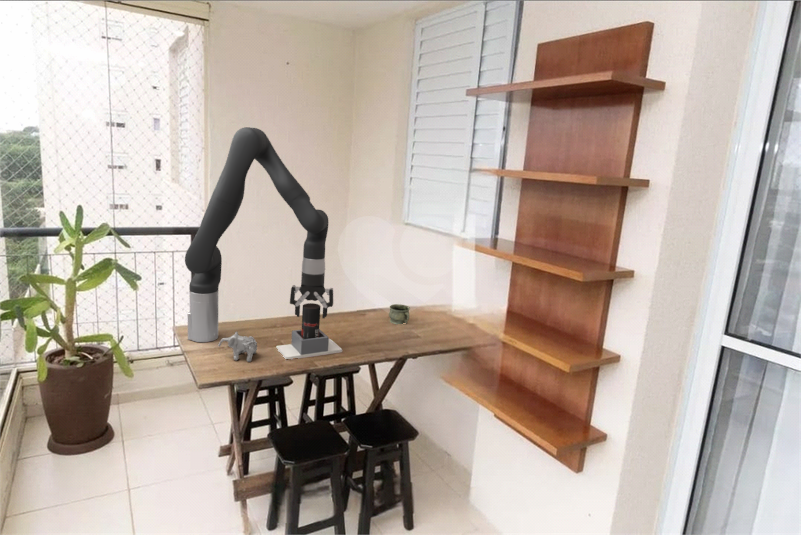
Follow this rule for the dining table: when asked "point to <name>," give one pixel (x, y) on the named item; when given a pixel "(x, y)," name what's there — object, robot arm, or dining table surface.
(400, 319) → the vessel
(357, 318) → the dining table surface
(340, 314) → the dining table surface
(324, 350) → the socket stand
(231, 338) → the gray elephant figurine
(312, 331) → the deodorant
